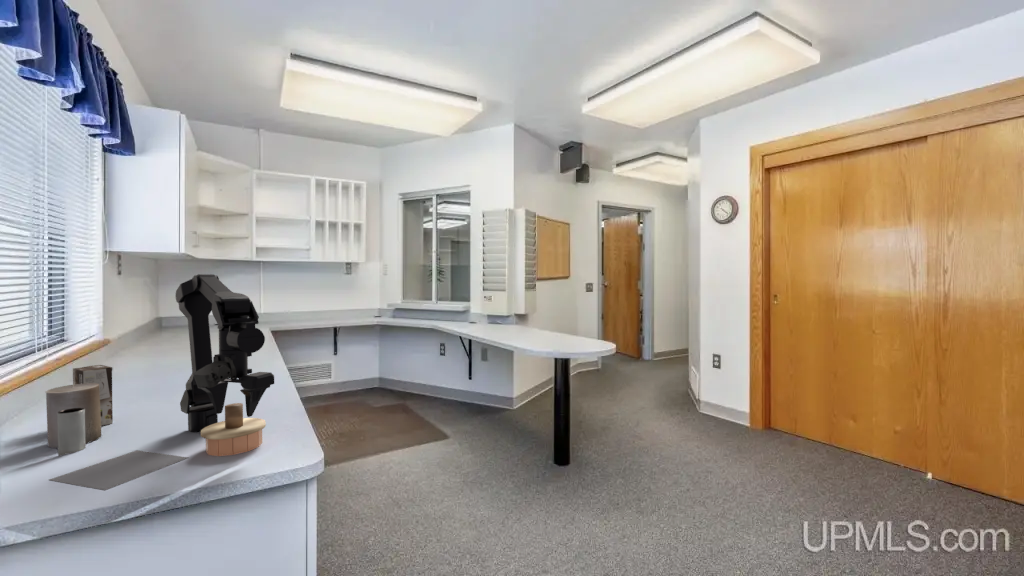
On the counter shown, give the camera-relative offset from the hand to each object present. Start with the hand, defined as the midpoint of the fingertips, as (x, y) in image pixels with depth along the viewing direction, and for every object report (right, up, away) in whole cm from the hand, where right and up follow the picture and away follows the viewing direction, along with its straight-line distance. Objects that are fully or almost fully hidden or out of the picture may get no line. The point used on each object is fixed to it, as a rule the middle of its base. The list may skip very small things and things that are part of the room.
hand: (234, 414), depth 105 cm
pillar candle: (-45, -9, +7) cm, 46 cm away
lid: (0, -4, 0) cm, 4 cm away
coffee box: (-53, -9, +21) cm, 58 cm away
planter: (-37, -9, -1) cm, 38 cm away
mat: (-16, -9, -12) cm, 22 cm away
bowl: (0, -9, 0) cm, 8 cm away
